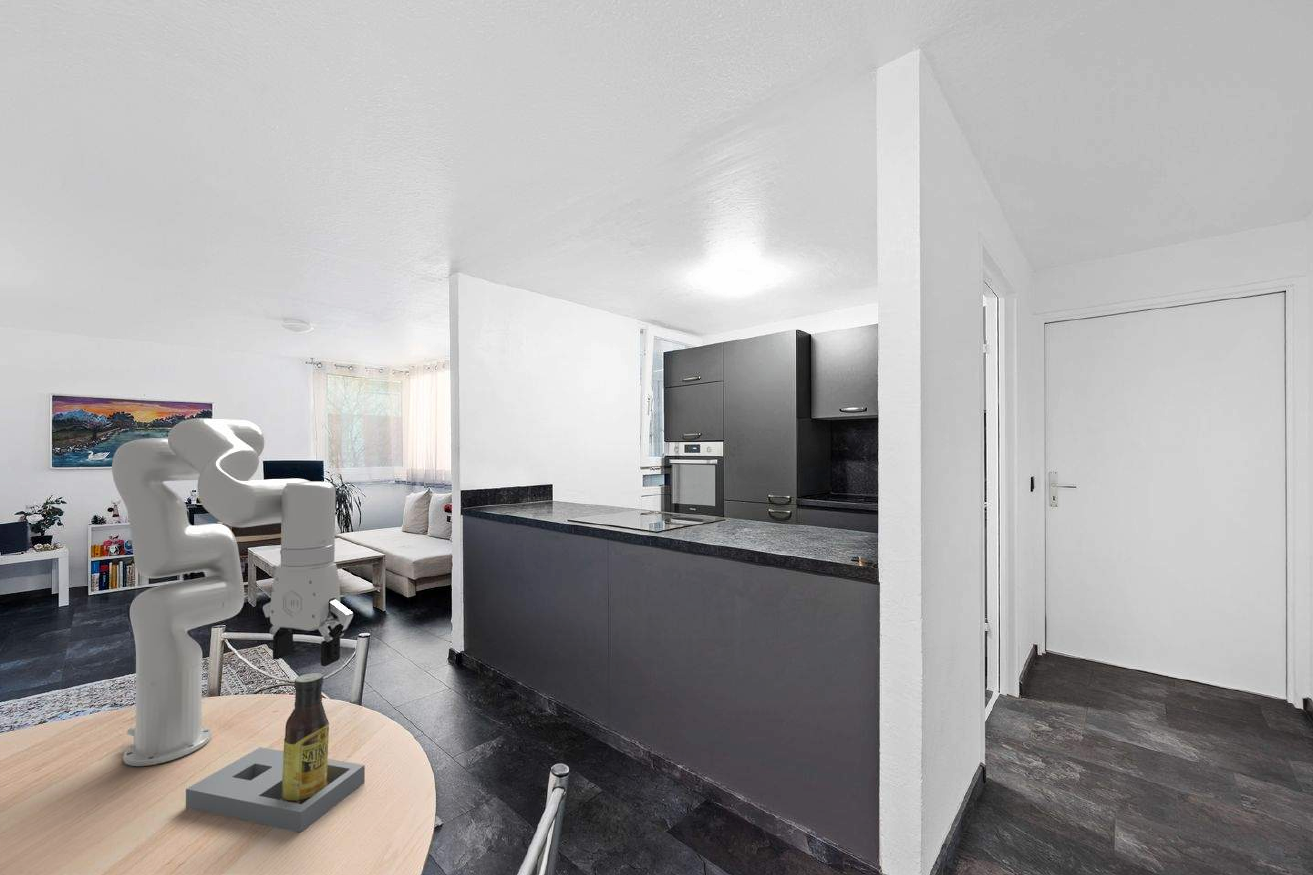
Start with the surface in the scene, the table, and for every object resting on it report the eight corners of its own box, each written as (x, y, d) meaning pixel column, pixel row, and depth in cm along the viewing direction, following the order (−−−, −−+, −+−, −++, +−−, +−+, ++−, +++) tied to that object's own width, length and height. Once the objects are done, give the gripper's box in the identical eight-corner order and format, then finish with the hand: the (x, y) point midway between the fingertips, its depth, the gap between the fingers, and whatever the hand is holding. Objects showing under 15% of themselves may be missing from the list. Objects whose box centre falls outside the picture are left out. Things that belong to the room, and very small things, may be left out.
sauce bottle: (304, 815, 85) (306, 688, 86) (271, 809, 86) (273, 684, 87) (336, 789, 92) (338, 671, 92) (305, 785, 93) (307, 668, 93)
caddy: (185, 807, 87) (185, 788, 87) (259, 763, 99) (260, 747, 99) (300, 832, 81) (300, 812, 81) (364, 782, 93) (364, 764, 94)
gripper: (245, 557, 88) (243, 662, 88) (332, 564, 84) (330, 675, 84) (287, 549, 95) (285, 646, 95) (369, 555, 91) (367, 656, 91)
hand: (306, 659), depth 89 cm, fingers open, 9 cm apart
